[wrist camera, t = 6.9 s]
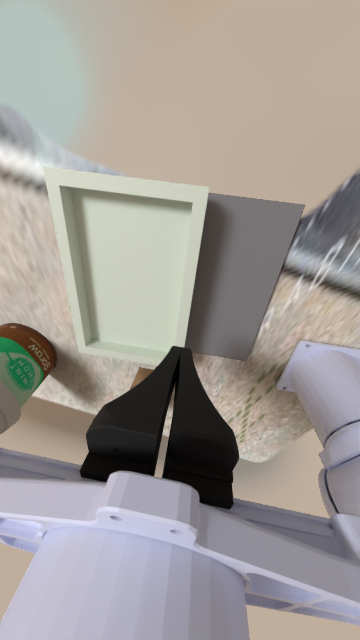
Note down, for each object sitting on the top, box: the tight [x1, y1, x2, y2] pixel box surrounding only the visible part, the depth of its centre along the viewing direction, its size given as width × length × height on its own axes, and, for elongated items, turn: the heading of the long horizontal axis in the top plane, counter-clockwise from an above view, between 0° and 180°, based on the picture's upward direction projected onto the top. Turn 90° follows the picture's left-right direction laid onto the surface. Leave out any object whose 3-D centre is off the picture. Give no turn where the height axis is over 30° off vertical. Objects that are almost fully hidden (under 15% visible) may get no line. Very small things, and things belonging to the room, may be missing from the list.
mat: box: [184, 193, 305, 361], centre depth 20 cm, size 22×17×1 cm
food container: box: [0, 323, 57, 434], centre depth 23 cm, size 12×6×10 cm, turn 24°
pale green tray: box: [43, 167, 209, 366], centre depth 19 cm, size 12×17×4 cm
